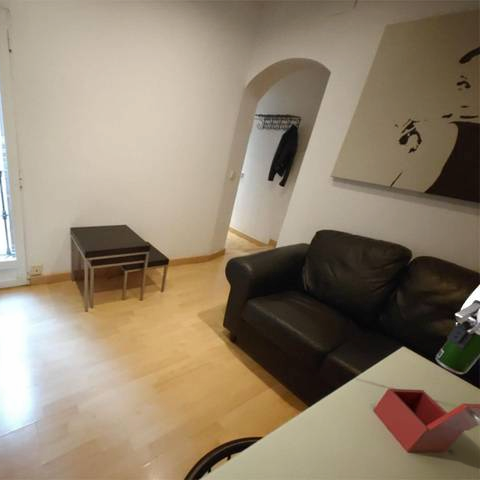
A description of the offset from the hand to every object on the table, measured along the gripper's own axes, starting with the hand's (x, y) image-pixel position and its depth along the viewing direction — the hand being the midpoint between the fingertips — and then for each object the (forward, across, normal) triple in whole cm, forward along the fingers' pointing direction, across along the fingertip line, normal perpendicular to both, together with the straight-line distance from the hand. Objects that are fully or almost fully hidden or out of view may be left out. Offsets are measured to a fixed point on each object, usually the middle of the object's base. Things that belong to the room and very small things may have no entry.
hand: (466, 343), depth 60 cm
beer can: (+7, 0, 0) cm, 7 cm away
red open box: (+28, -2, -2) cm, 28 cm away
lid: (+13, -1, -8) cm, 15 cm away
